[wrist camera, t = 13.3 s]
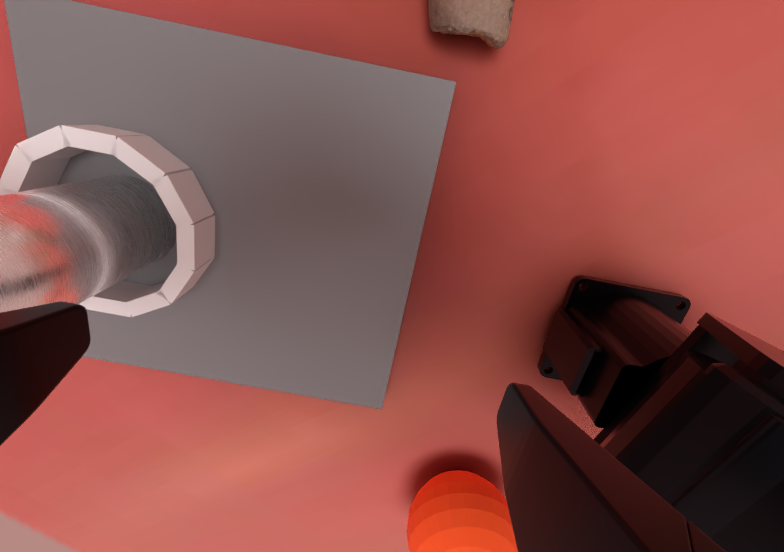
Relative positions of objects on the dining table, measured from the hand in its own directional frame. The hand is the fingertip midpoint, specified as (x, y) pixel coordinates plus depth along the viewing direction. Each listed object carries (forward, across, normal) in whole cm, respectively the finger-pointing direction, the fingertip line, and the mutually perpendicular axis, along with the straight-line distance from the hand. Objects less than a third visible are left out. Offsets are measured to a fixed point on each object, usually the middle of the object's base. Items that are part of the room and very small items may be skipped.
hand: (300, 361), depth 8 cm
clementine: (+13, -9, +18) cm, 24 cm away
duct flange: (+13, +6, +2) cm, 15 cm away
